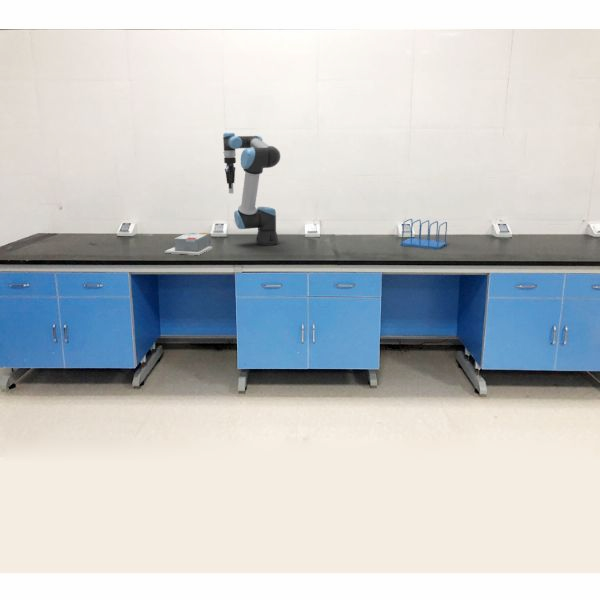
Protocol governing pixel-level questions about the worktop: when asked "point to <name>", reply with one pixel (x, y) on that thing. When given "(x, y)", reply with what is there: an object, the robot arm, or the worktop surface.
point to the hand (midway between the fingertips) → (231, 193)
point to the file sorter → (423, 242)
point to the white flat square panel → (188, 251)
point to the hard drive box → (192, 242)
